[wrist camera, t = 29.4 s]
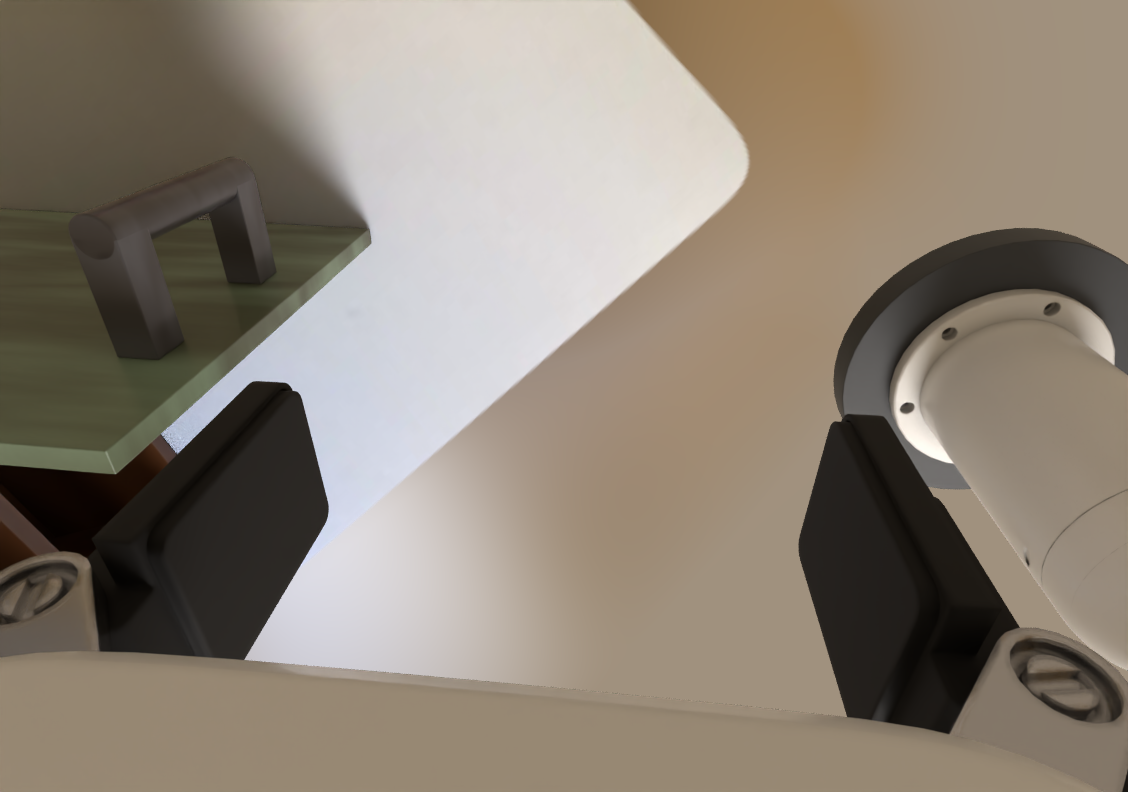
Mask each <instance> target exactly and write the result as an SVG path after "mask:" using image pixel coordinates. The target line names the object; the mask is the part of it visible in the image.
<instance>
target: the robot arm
mask: <svg viewBox="0 0 1128 792" xmlns="http://www.w3.org/2000/svg"><path fill="white" fill-rule="evenodd" d="M945 329H946V330H945ZM889 402H890V407H891V413H892V416H893V418H894V420H895V422H896V424H897V426H898V428H899V429H900V431H901V432H902V434H903V435H904V437H905V438H906V440H907V441H909V442H910V443H911V444H912V445H913V446H914V447H915V448H916V449H917V450H919V451H921V452H922V453H924V454H926V455H928V456H929V457H932V458H934V459H937V460H940V461H943V462H946V463H953V464H954V465H955V466H956V468H957V469H958V470H959V472H960V473H961V475H962V476H963V478H964V479H965V480H966V482H967V483H968V485H969V486H970V488H971V489H972V490H973V492H974V493H975V495H976V496H977V498H978V499H979V500H980V502H981V503H982V505H983V506H984V508H985V509H986V511H987V512H988V513H989V515H990V516H991V518H992V519H993V520H994V522H995V523H996V525H997V526H998V528H999V529H1000V530H1001V532H1002V533H1003V535H1004V536H1005V538H1006V539H1007V540H1008V542H1009V543H1010V545H1011V546H1012V548H1013V549H1014V551H1015V552H1016V554H1017V555H1018V556H1019V558H1020V559H1021V561H1022V562H1023V564H1024V565H1025V566H1026V568H1027V569H1028V571H1029V572H1030V574H1031V575H1032V576H1033V578H1034V579H1035V581H1036V582H1037V584H1038V585H1039V586H1040V588H1041V589H1042V591H1043V592H1044V594H1045V595H1046V596H1047V598H1048V599H1049V601H1050V602H1051V603H1052V605H1053V606H1054V608H1055V609H1056V611H1057V612H1058V614H1059V615H1060V616H1061V618H1062V619H1063V620H1064V622H1065V623H1066V624H1067V625H1068V626H1069V628H1070V629H1071V630H1072V631H1073V632H1074V633H1075V634H1076V635H1077V636H1078V637H1079V638H1080V639H1081V640H1082V641H1083V642H1084V643H1085V644H1086V645H1087V646H1088V647H1090V648H1091V649H1093V650H1094V651H1095V652H1094V651H1093V650H1091V649H1089V648H1088V647H1086V646H1084V645H1083V644H1081V643H1080V642H1078V641H1075V640H1073V639H1071V638H1068V637H1066V636H1064V635H1061V634H1059V633H1056V632H1052V631H1047V630H1043V629H1039V628H1020V627H1019V625H1018V624H1017V622H1016V621H1015V619H1014V618H1013V616H1012V614H1011V613H1010V611H1009V609H1008V608H1007V606H1006V605H1005V603H1004V601H1003V600H1002V598H1001V597H1000V595H999V593H998V592H997V590H996V588H995V587H994V585H993V584H992V582H991V580H990V579H989V577H988V576H987V574H986V572H985V571H984V569H983V567H982V566H981V564H980V563H979V561H978V559H977V558H976V556H975V554H974V553H973V551H972V550H971V548H970V546H969V545H968V543H967V542H966V540H965V538H964V537H963V535H962V533H961V532H960V530H959V529H958V527H957V525H956V524H955V522H954V521H953V519H952V518H951V516H950V514H949V513H948V511H947V509H946V508H945V506H944V505H943V504H942V502H941V501H940V500H939V499H938V498H936V497H933V495H932V493H931V492H930V490H929V488H928V487H927V485H926V483H925V482H924V480H923V478H922V477H921V475H920V473H919V472H918V470H917V469H916V467H915V465H914V464H913V462H912V460H911V459H910V457H909V455H908V454H907V452H906V450H905V449H904V447H903V446H902V444H901V442H900V441H899V439H898V437H897V436H896V434H895V432H894V431H893V429H892V427H891V426H890V424H889V423H888V421H887V419H886V418H885V417H884V416H880V415H862V414H846V415H845V416H844V417H843V419H842V421H841V422H833V423H832V424H831V426H830V429H829V432H828V436H827V440H826V443H825V447H824V451H823V454H822V458H821V461H820V465H819V469H818V472H817V476H816V479H815V483H814V486H813V490H812V494H811V497H810V501H809V505H808V508H807V512H806V515H805V519H804V523H803V526H802V530H801V534H800V538H799V556H800V561H801V564H802V567H803V571H804V574H805V577H806V581H807V584H808V587H809V591H810V594H811V597H812V601H813V604H814V607H815V611H816V614H817V617H818V621H819V624H820V627H821V631H822V634H823V637H824V641H825V644H826V647H827V651H828V654H829V657H830V661H831V664H832V667H833V671H834V674H835V677H836V681H837V684H838V687H839V691H840V694H841V698H842V701H843V704H844V708H845V711H846V714H847V717H840V716H831V715H823V714H814V713H805V712H797V711H788V710H779V709H769V708H761V707H752V706H742V705H732V704H721V703H710V702H701V701H690V700H680V699H670V698H659V697H648V696H638V695H628V694H617V693H607V692H596V691H586V690H576V689H565V688H554V687H543V686H532V685H521V684H510V683H499V682H489V681H478V680H466V679H456V678H455V679H454V678H444V677H433V676H421V675H411V674H400V673H389V672H377V671H365V670H354V669H342V668H329V667H319V666H307V665H295V664H283V663H271V662H260V661H248V660H244V659H245V657H246V656H247V654H248V652H249V651H250V649H251V647H252V646H253V644H254V642H255V641H256V639H257V637H258V635H259V634H260V632H261V631H262V629H263V627H264V626H265V624H266V622H267V620H268V619H269V617H270V615H271V614H272V612H273V610H274V608H275V607H276V605H277V604H278V602H279V600H280V599H281V597H282V595H283V594H284V592H285V590H286V589H287V587H288V585H289V584H290V582H291V580H292V579H293V577H294V575H295V574H296V572H297V570H298V569H299V567H300V565H301V564H302V562H303V560H304V559H305V557H306V555H307V553H308V552H309V550H310V548H311V547H312V545H313V543H314V542H315V540H316V538H317V537H318V535H319V533H320V532H321V530H322V528H323V527H324V525H325V523H326V521H327V517H328V510H329V506H328V501H327V497H326V493H325V489H324V485H323V481H322V477H321V473H320V469H319V465H318V461H317V457H316V453H315V449H314V445H313V441H312V438H311V434H310V430H309V426H308V422H307V418H306V414H305V410H304V406H303V402H302V398H301V396H300V394H299V393H298V392H296V391H292V388H291V387H290V386H289V384H287V383H280V382H262V381H254V382H252V383H250V384H249V385H248V386H247V387H246V388H245V389H244V390H243V391H241V392H240V393H239V394H238V395H237V396H236V397H235V398H234V399H233V400H232V401H231V402H230V403H229V404H228V405H227V406H226V407H225V408H224V409H223V410H222V411H221V412H220V413H219V414H218V415H217V416H216V417H215V418H214V419H213V420H212V421H211V422H210V423H209V424H208V425H207V426H206V427H205V428H204V429H203V430H202V431H201V432H200V433H199V434H198V435H197V436H196V437H195V438H194V439H193V440H192V441H191V442H190V443H189V444H188V445H187V446H185V447H184V448H183V449H182V450H181V451H180V452H179V453H178V454H177V455H176V456H175V457H174V458H173V459H172V460H171V461H170V462H169V463H168V464H167V465H166V466H165V467H164V468H163V469H162V470H161V471H160V472H159V473H158V474H157V475H156V476H155V477H154V478H153V479H152V480H151V481H150V482H149V483H148V484H147V485H146V486H145V487H144V488H143V489H142V490H141V491H140V492H139V493H138V494H137V495H136V496H135V497H134V498H133V499H132V500H131V501H129V502H128V503H127V504H126V505H125V506H124V507H123V508H122V509H121V510H120V511H119V512H118V513H117V514H116V515H115V516H114V517H113V518H112V519H111V520H110V521H109V522H108V523H107V524H106V525H105V526H104V527H103V528H102V529H101V530H100V531H99V532H98V533H97V534H96V535H95V536H94V537H93V538H92V541H93V543H94V544H95V546H96V548H97V549H96V550H95V551H94V552H93V553H92V554H91V555H90V556H89V557H88V558H85V557H83V556H82V555H80V554H79V553H72V552H66V551H64V552H52V553H46V554H42V555H38V556H34V557H31V558H28V559H25V560H23V561H21V562H18V563H16V564H13V565H11V566H9V567H7V568H6V569H4V570H2V571H1V572H0V792H1128V682H1127V681H1126V680H1125V679H1124V678H1123V676H1122V675H1121V674H1120V672H1119V671H1118V670H1117V669H1116V668H1114V667H1113V666H1112V665H1111V664H1110V663H1109V662H1107V661H1106V660H1108V661H1110V662H1112V663H1113V664H1115V665H1117V666H1120V667H1121V668H1123V669H1125V670H1127V671H1128V375H1126V374H1125V373H1124V372H1122V371H1121V370H1120V369H1118V368H1117V367H1116V366H1115V348H1114V344H1113V340H1112V336H1111V333H1110V332H1109V330H1108V328H1107V327H1106V325H1105V323H1104V322H1103V320H1102V319H1101V318H1099V317H1098V316H1097V315H1096V314H1095V313H1094V312H1093V311H1092V310H1091V309H1089V308H1088V307H1086V306H1085V305H1083V304H1081V303H1080V302H1078V301H1077V300H1075V299H1073V298H1071V297H1068V296H1065V295H1063V294H1060V293H1058V292H1053V291H1047V290H1040V289H1013V290H1007V291H1001V292H996V293H991V294H988V295H985V296H982V297H979V298H976V299H973V300H970V301H968V302H966V303H964V304H962V305H960V306H958V307H956V308H954V309H952V310H950V311H948V312H947V313H945V314H944V315H942V316H941V317H940V318H938V319H937V320H935V321H934V322H932V323H931V324H930V325H929V326H928V327H927V328H925V329H924V330H923V331H922V332H921V333H920V334H919V335H918V336H917V337H916V338H915V339H914V340H913V342H912V343H911V344H910V345H909V347H908V348H907V349H906V350H905V352H904V353H903V355H902V357H901V359H900V361H899V362H898V364H897V366H896V368H895V371H894V374H893V377H892V381H891V384H890V395H889ZM1096 652H1097V653H1098V654H1097V653H1096ZM1100 655H1101V656H1100ZM1103 657H1104V658H1105V659H1106V660H1105V659H1104V658H1103Z"/></svg>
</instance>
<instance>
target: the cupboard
mask: <svg viewBox="0 0 1128 792" xmlns="http://www.w3.org/2000/svg"><path fill="white" fill-rule="evenodd" d="M176 455H177V454H176V453H175V452H174V451H173V449H172V448H171V447H170V446H169V444H168V443H167V442H166V441H165V439H164V438H163V437H162V436H161V434H160V435H159V436H158V437H157V438H156V439H155V440H153V441H152V442H151V443H150V444H149V445H148V446H147V447H146V448H145V449H143V450H142V451H141V452H140V453H139V454H138V455H137V456H136V457H135V458H134V459H132V460H131V461H130V462H129V463H128V464H127V465H126V466H125V467H124V468H122V469H121V470H120V471H119V472H118V473H117V474H106V473H94V472H82V471H70V470H58V469H46V468H34V467H22V466H10V465H0V572H1V571H2V570H4V569H6V568H7V567H9V566H11V565H13V564H16V563H18V562H21V561H23V560H25V559H28V558H31V557H34V556H38V555H42V554H46V553H52V552H64V551H66V552H72V553H79V554H80V555H82V556H83V557H85V558H88V557H89V556H90V555H91V554H92V553H93V552H94V551H95V550H96V549H97V548H96V546H95V544H94V543H93V541H92V538H93V537H94V536H95V535H96V534H97V533H98V532H99V531H100V530H101V529H102V528H103V527H104V526H105V525H106V524H107V523H108V522H109V521H110V520H111V519H112V518H113V517H114V516H115V515H116V514H117V513H118V512H119V511H120V510H121V509H122V508H123V507H124V506H125V505H126V504H127V503H128V502H129V501H131V500H132V499H133V498H134V497H135V496H136V495H137V494H138V493H139V492H140V491H141V490H142V489H143V488H144V487H145V486H146V485H147V484H148V483H149V482H150V481H151V480H152V479H153V478H154V477H155V476H156V475H157V474H158V473H159V472H160V471H161V470H162V469H163V468H164V467H165V466H166V465H167V464H168V463H169V462H170V461H171V460H172V459H173V458H174V457H175V456H176Z"/></svg>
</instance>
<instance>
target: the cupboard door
mask: <svg viewBox="0 0 1128 792" xmlns="http://www.w3.org/2000/svg"><path fill="white" fill-rule="evenodd" d="M207 213H209V216H210V220H197V218H199V217H201V216H203V215H205V214H207ZM370 244H371V237H370V230H369V229H364V228H346V227H327V226H309V225H290V224H272V223H266V222H265V218H264V214H263V209H262V205H261V200H260V196H259V192H258V187H257V183H256V178H255V176H254V173H253V171H252V169H251V167H250V166H249V165H248V164H247V163H246V162H244V161H243V160H241V159H239V158H235V157H229V158H226V159H223V160H220V161H218V162H215V163H212V164H210V165H207V166H204V167H202V168H199V169H196V170H194V171H191V172H188V173H186V174H183V175H180V176H178V177H175V178H172V179H170V180H167V181H164V182H162V183H159V184H156V185H154V186H151V187H148V188H145V189H143V190H140V191H137V192H135V193H132V194H129V195H127V196H124V197H121V198H119V199H116V200H113V201H111V202H108V203H105V204H103V205H100V206H97V207H95V208H92V209H89V210H87V211H84V212H81V213H68V212H49V211H31V210H12V209H0V465H10V466H22V467H34V468H46V469H58V470H70V471H82V472H94V473H106V474H117V473H118V472H119V471H120V470H121V469H122V468H124V467H125V466H126V465H127V464H128V463H129V462H130V461H131V460H132V459H134V458H135V457H136V456H137V455H138V454H139V453H140V452H141V451H142V450H143V449H145V448H146V447H147V446H148V445H149V444H150V443H151V442H152V441H153V440H155V439H156V438H157V437H158V436H159V435H160V434H161V433H162V432H163V431H164V430H166V429H167V428H168V427H169V426H170V425H171V424H172V423H173V422H174V421H176V420H177V419H178V418H179V417H180V416H181V415H182V414H183V413H184V412H185V411H187V410H188V409H189V408H190V407H191V406H192V405H193V404H194V403H195V402H197V401H198V400H199V399H200V398H201V397H202V396H203V395H204V394H205V393H206V392H208V391H209V390H210V389H211V388H212V387H213V386H214V385H215V384H216V383H218V382H219V381H220V380H221V379H222V378H223V377H224V376H225V375H226V374H228V373H229V372H230V371H231V370H232V369H233V368H234V367H235V366H236V365H237V364H239V363H240V362H241V361H242V360H243V359H244V358H245V357H246V356H247V355H249V354H250V353H251V352H252V351H253V350H254V349H255V348H256V347H257V346H258V345H260V344H261V343H262V342H263V341H264V340H265V339H266V338H267V337H268V336H270V335H271V334H272V333H273V332H274V331H275V330H276V329H277V328H278V327H279V326H281V325H282V324H283V323H284V322H285V321H286V320H287V319H288V318H289V317H291V316H292V315H293V314H294V313H295V312H296V311H297V310H298V309H299V308H300V307H302V306H303V305H304V304H305V303H306V302H307V301H308V300H309V299H310V298H312V297H313V296H314V295H315V294H316V293H317V292H318V291H319V290H320V289H322V288H323V287H324V286H325V285H326V284H327V283H328V282H329V281H330V280H331V279H333V278H334V277H335V276H336V275H337V274H338V273H339V272H340V271H341V270H343V269H344V268H345V267H346V266H347V265H348V264H349V263H350V262H351V261H352V260H354V259H355V258H356V257H357V256H358V255H359V254H360V253H361V252H362V251H364V250H365V249H366V248H367V247H368V246H369V245H370Z"/></svg>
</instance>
